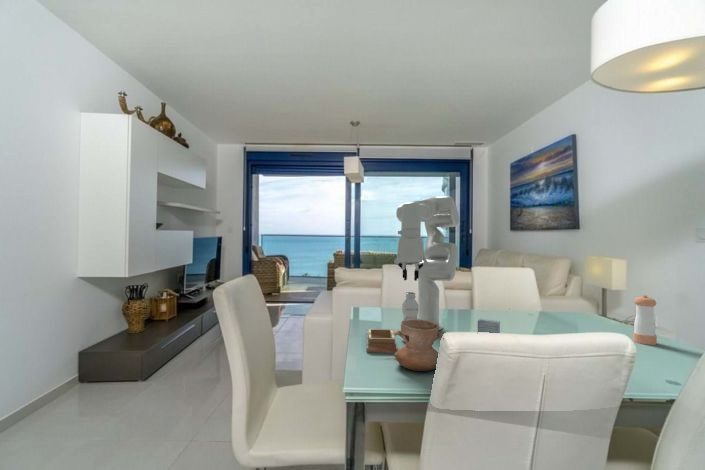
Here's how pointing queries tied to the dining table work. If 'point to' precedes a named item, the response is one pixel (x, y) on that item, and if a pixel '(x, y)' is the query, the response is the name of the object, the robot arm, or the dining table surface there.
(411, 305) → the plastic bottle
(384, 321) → the dining table surface
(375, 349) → the wooden tray
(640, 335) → the pepper shaker
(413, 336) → the ceramic jug
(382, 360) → the dining table surface
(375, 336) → the box
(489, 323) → the medicine box
